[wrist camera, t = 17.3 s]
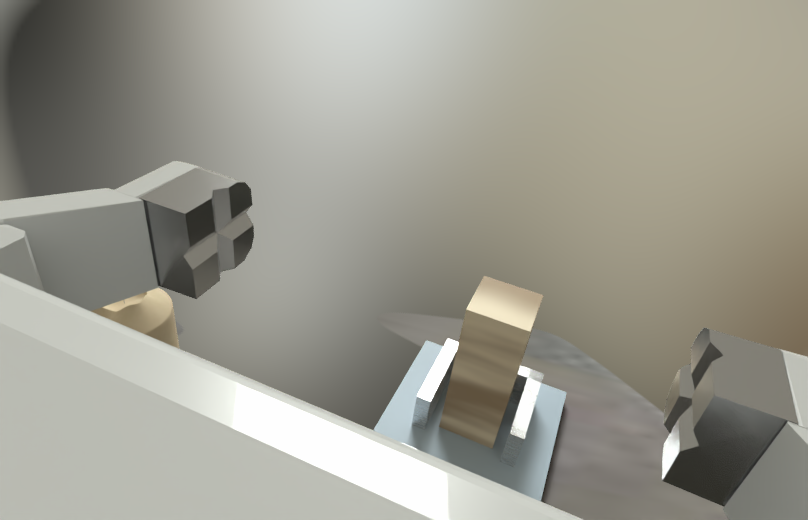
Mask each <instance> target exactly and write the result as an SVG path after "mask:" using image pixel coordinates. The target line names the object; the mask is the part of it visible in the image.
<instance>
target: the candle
mask: <svg viewBox="0 0 808 520" xmlns="http://www.w3.org/2000/svg"><path fill="white" fill-rule="evenodd" d="M91 312H93V313H96V314H98V315H100V316H103V317H105V318H107V319H110V320H112V321H115V322H117V323H119V324H122V325H124V326H126V327H129V328H131V329H133V330H136V331H138V332H141V333H143V334H145V335H148V336H150V337H152V338H155V339H157V340H160V341H162V342H164V343H167V344H169V345H171V346H174V347H176V348H178V349H179V343H178V336H177V330H176V323H175V317H174V310H173V304H172V300H171V298H170V297H169V295H168V294H167V293H166V292H164V291H163V290H161V289H159V288H156V289H153V290H150V291H147V292H145V293H142V294H139V295H136V296H133V297H130V298H127V299H124V300H122V301H119V302H116V303H113V304H110V305H107V306H104V307H101V308H98V309H96V310H93V311H91Z"/></svg>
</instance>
